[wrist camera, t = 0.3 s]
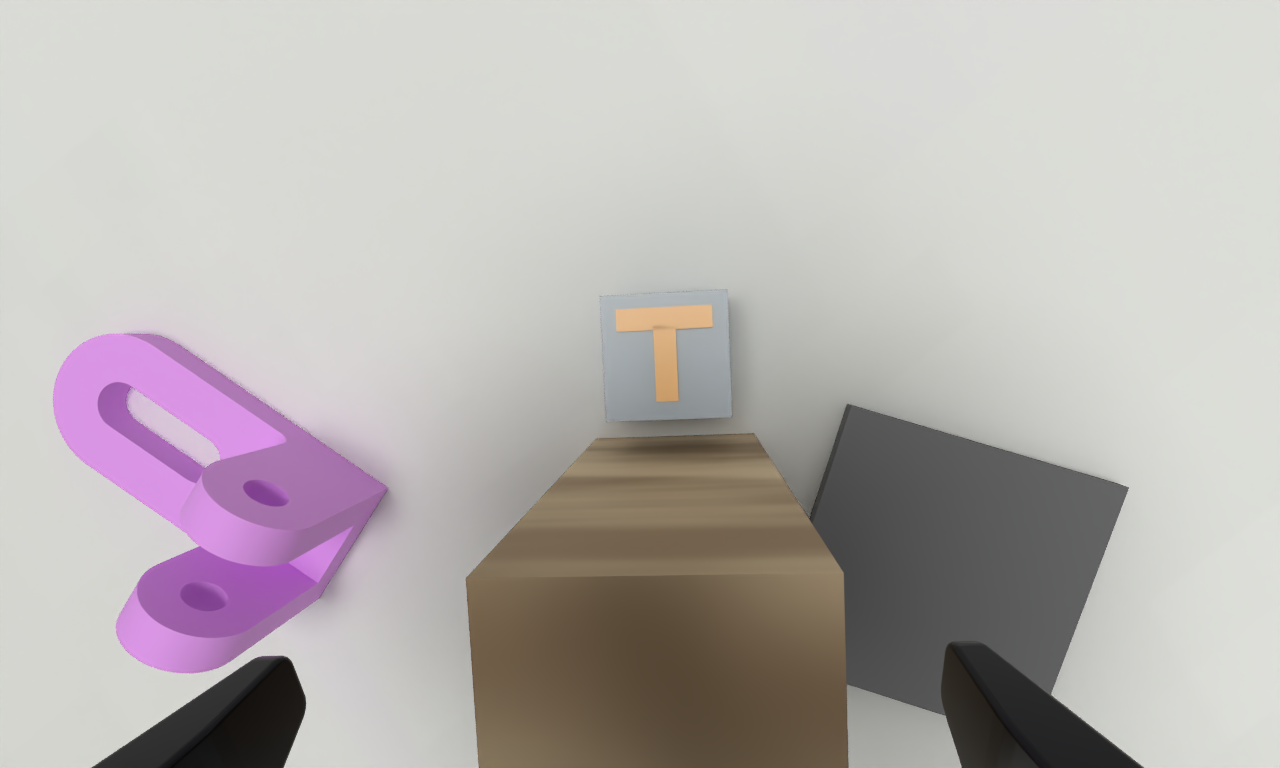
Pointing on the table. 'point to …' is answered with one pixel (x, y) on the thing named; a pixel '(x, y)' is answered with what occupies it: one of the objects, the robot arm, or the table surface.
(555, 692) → the wooden block
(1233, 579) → the table surface
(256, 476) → the bracket
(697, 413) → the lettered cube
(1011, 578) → the charcoal mat
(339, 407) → the table surface
